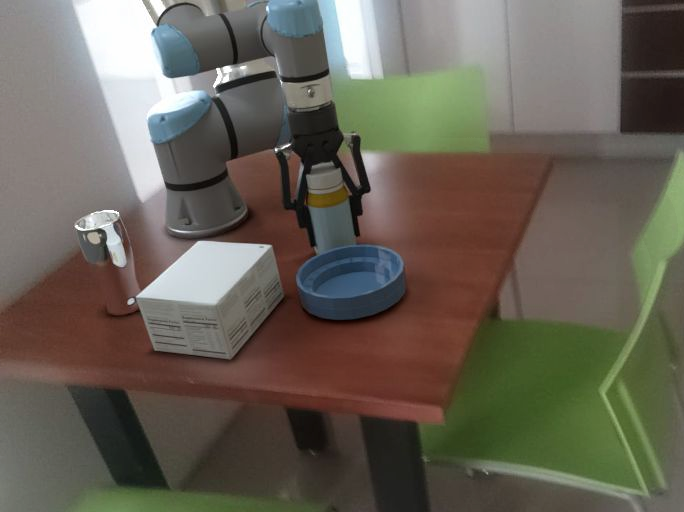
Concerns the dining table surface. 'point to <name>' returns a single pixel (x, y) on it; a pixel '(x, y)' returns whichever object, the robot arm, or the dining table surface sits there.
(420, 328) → the dining table surface
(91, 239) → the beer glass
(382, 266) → the bowl
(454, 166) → the dining table surface
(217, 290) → the supplement box
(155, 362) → the dining table surface
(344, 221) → the bottle
